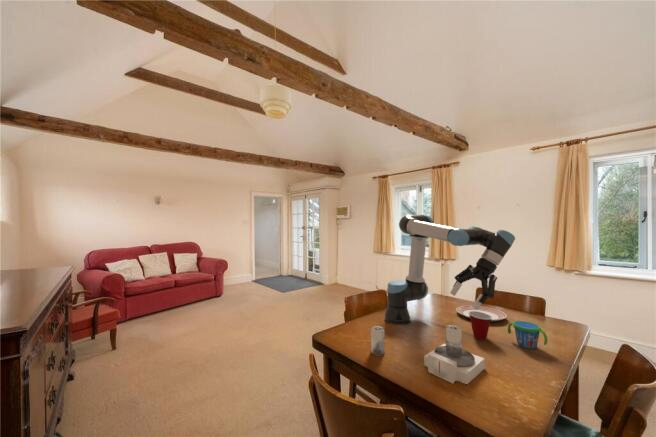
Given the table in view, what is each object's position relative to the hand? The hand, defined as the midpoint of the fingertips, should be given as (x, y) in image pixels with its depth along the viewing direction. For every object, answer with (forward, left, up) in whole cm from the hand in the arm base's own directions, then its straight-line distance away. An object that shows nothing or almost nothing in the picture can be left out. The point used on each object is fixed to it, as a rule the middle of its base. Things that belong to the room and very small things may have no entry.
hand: (462, 301), depth 117 cm
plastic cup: (-3, +26, -25) cm, 36 cm away
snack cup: (+15, +33, -25) cm, 44 cm away
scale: (+1, -14, -25) cm, 28 cm away
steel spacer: (-27, -27, -25) cm, 45 cm away
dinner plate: (-15, +58, -25) cm, 65 cm away
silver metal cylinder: (+1, -12, -19) cm, 23 cm away
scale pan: (+1, -12, -20) cm, 24 cm away
